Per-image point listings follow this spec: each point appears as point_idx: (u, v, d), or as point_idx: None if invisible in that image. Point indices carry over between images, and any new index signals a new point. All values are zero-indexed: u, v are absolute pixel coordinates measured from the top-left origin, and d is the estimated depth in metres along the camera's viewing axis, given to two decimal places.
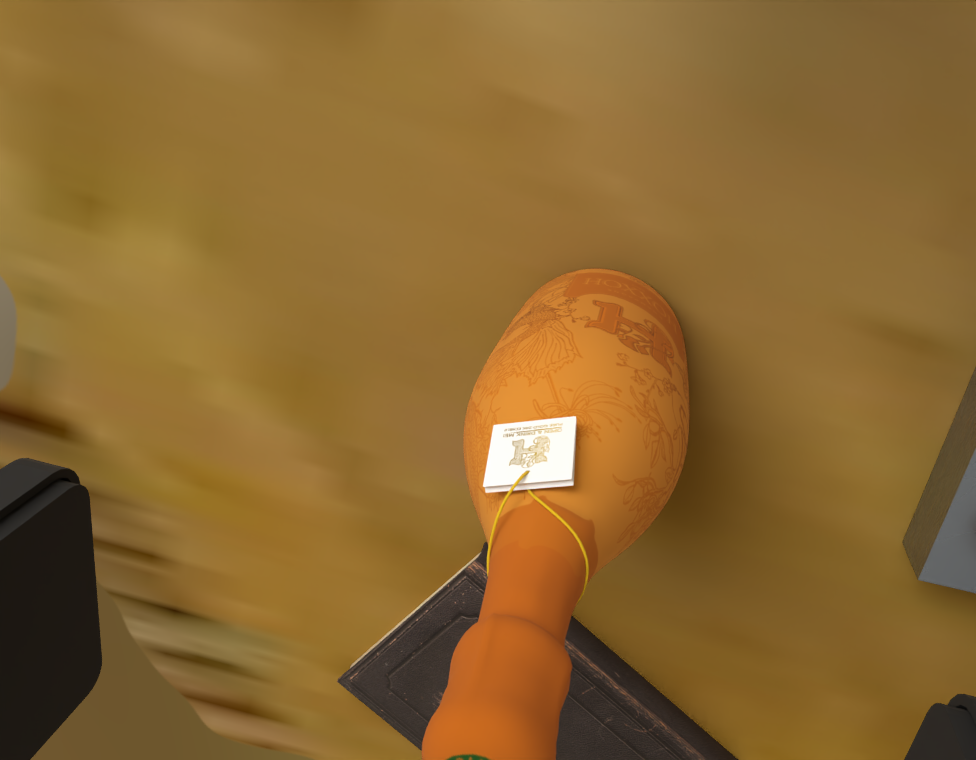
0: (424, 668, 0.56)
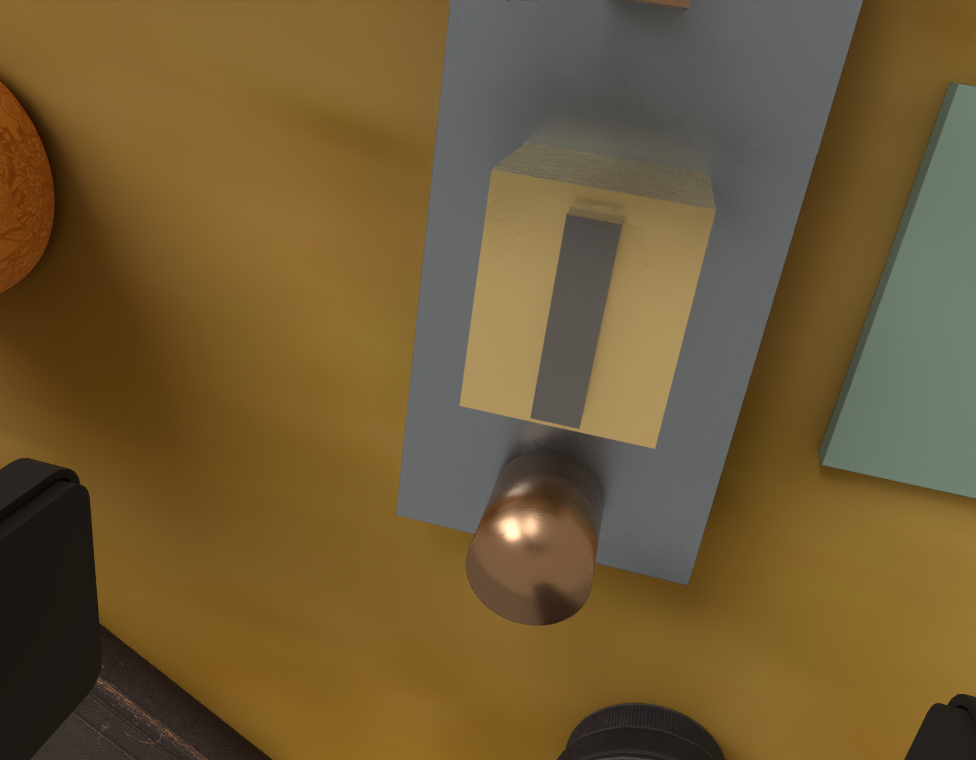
0: None
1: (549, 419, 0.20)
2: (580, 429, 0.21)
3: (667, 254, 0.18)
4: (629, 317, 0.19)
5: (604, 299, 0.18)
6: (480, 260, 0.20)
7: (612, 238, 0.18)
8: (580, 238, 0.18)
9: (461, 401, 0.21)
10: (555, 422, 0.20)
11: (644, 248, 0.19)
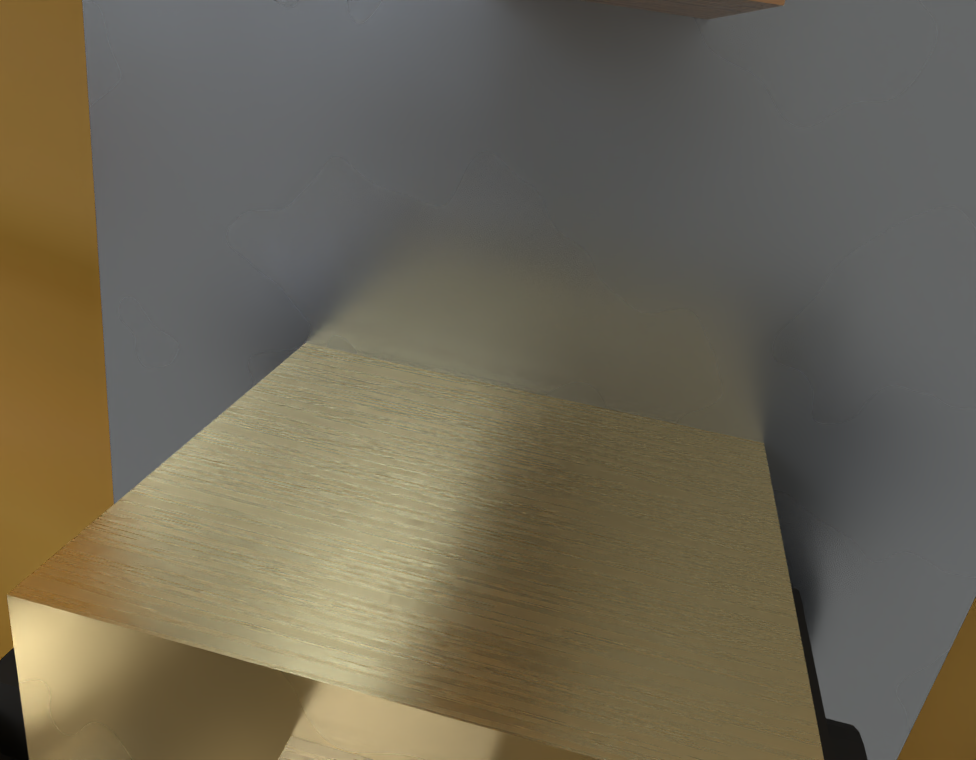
0: None
1: None
2: None
3: None
4: None
5: None
6: None
7: None
8: None
9: None
10: None
11: None
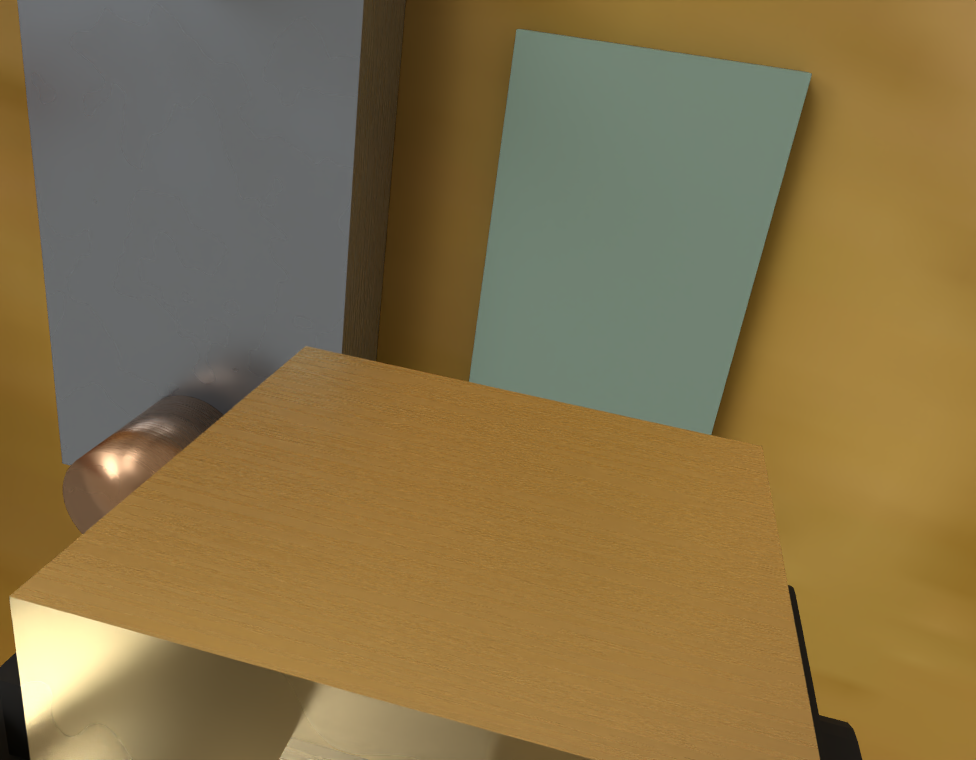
0: None
1: None
2: None
3: None
4: None
5: None
6: None
7: None
8: None
9: None
10: None
11: None
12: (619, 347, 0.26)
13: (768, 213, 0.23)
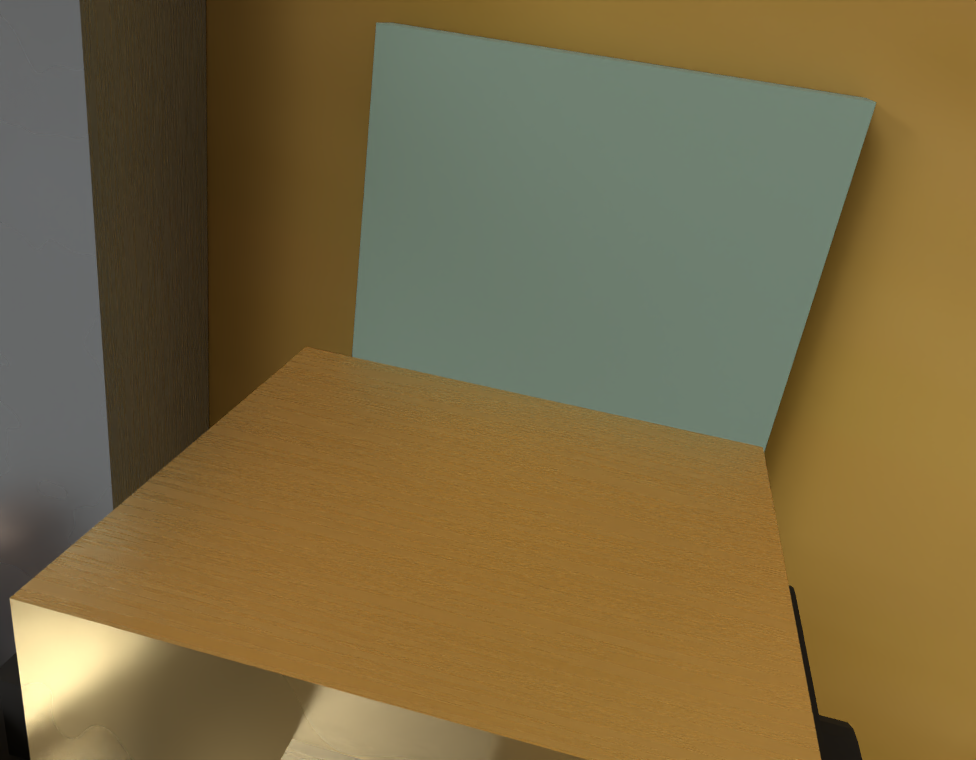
0: None
1: None
2: None
3: None
4: None
5: None
6: None
7: None
8: None
9: None
10: None
11: None
12: None
13: (795, 329, 0.14)
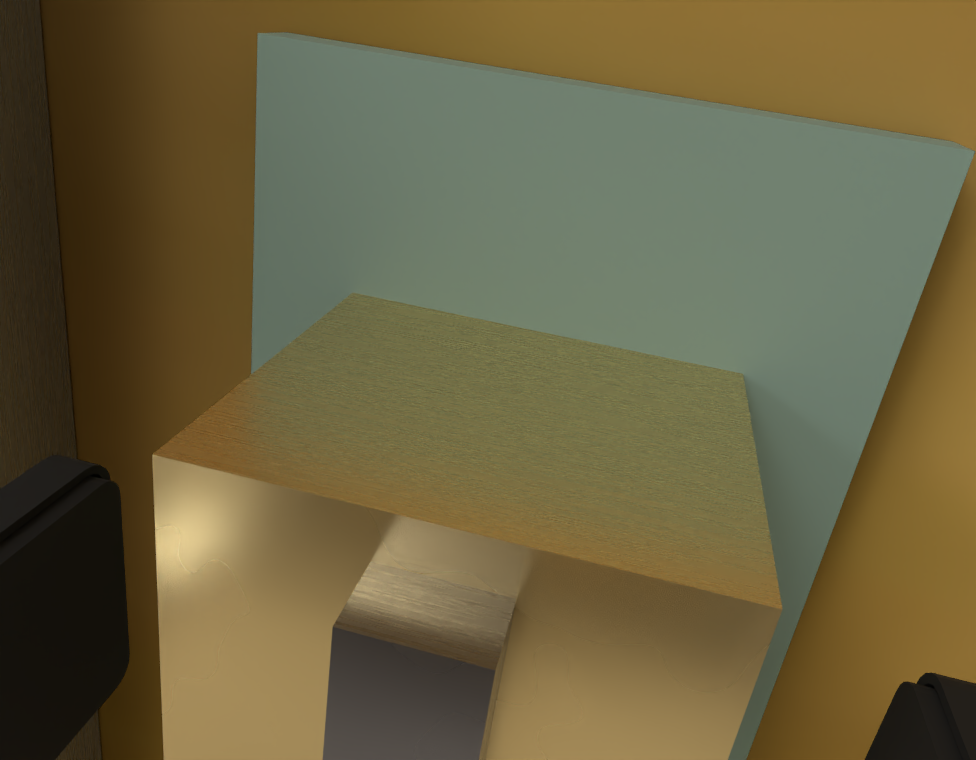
0: None
1: None
2: None
3: (640, 699, 0.07)
4: None
5: None
6: (165, 649, 0.08)
7: (472, 701, 0.06)
8: (379, 689, 0.06)
9: None
10: None
11: (577, 678, 0.07)
12: None
13: (847, 460, 0.10)
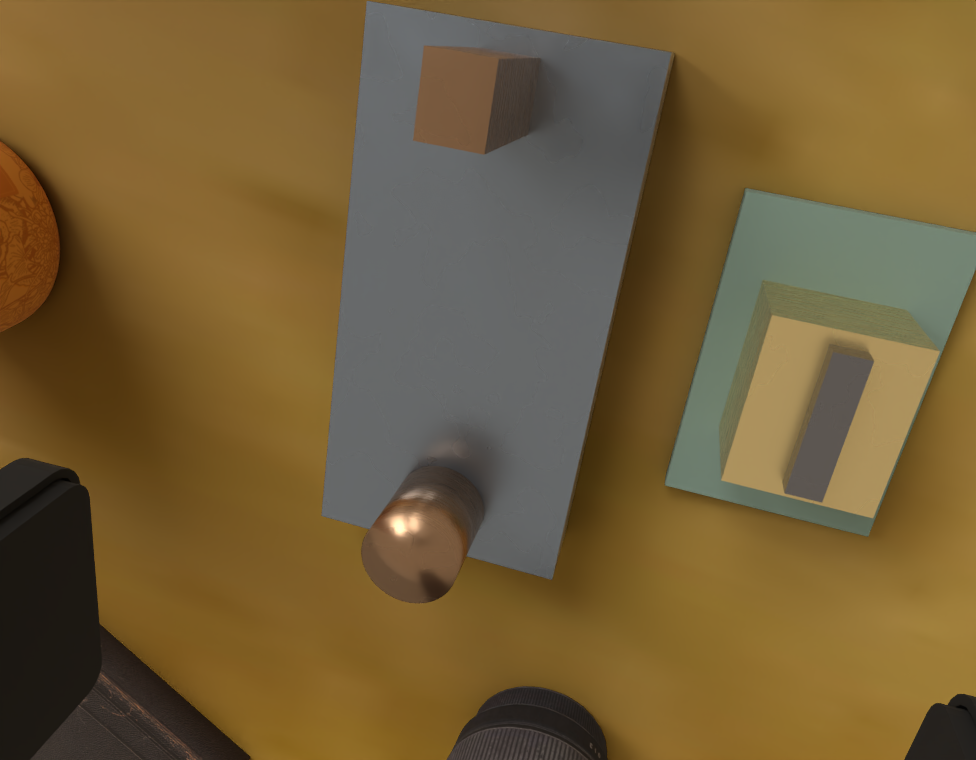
0: None
1: (799, 495, 0.27)
2: (815, 501, 0.28)
3: (899, 380, 0.26)
4: (864, 422, 0.26)
5: (854, 411, 0.26)
6: (752, 376, 0.27)
7: (866, 370, 0.25)
8: (841, 368, 0.25)
9: (721, 477, 0.28)
10: (804, 497, 0.27)
11: (882, 375, 0.26)
12: None
13: (942, 341, 0.29)
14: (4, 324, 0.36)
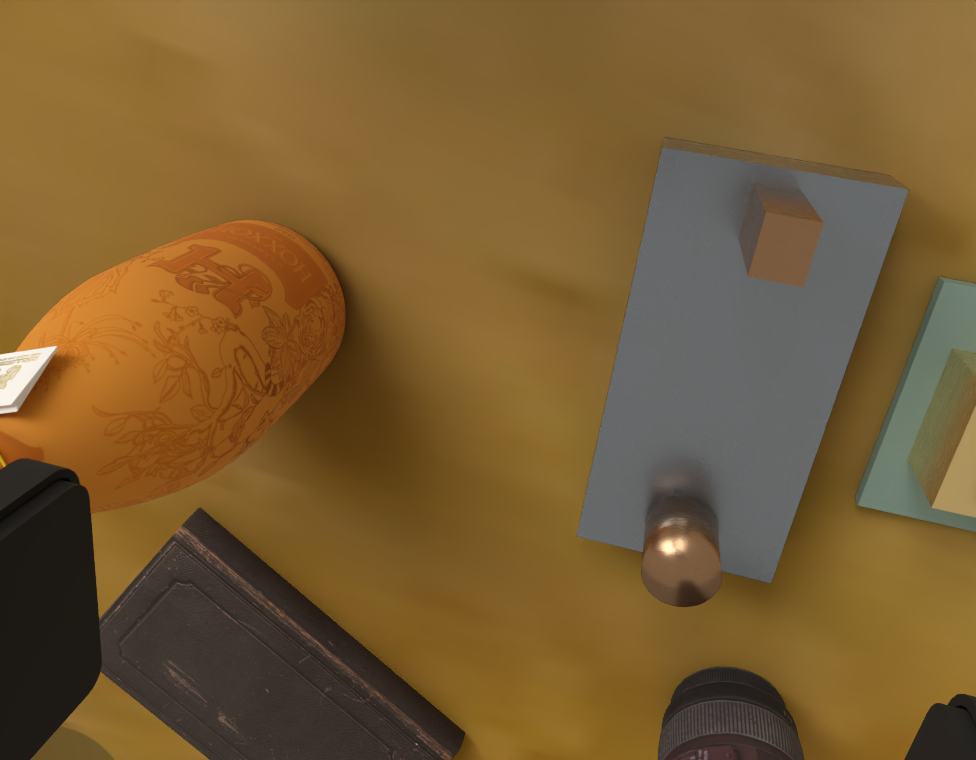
0: (150, 635, 0.56)
1: None
2: None
3: None
4: None
5: None
6: (963, 430, 0.35)
7: None
8: None
9: (931, 505, 0.37)
10: None
11: None
12: None
13: None
14: None
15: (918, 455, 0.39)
